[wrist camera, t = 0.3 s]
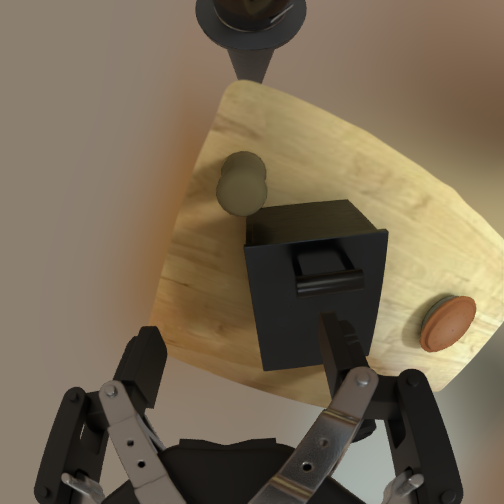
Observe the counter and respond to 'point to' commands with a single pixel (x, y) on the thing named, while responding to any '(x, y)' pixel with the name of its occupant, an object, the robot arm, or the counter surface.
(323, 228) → the black open box
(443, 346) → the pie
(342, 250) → the lid
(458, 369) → the counter surface
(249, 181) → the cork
